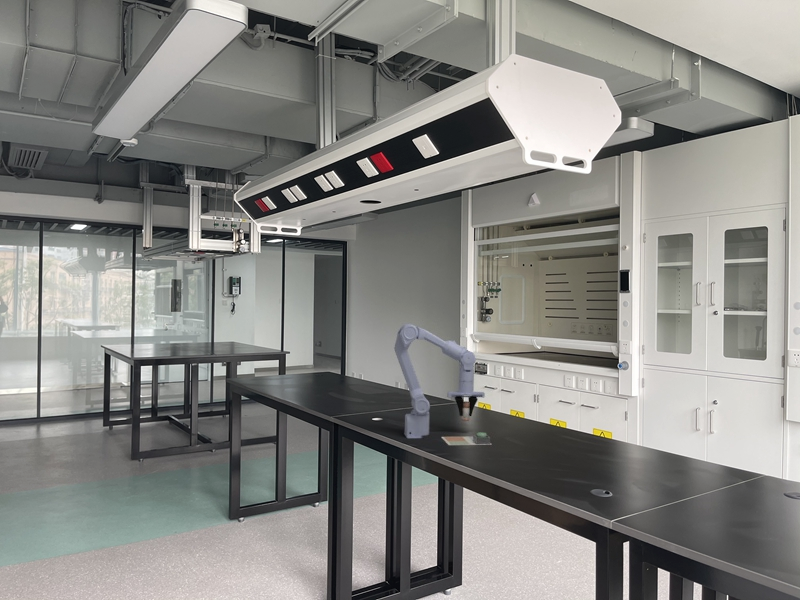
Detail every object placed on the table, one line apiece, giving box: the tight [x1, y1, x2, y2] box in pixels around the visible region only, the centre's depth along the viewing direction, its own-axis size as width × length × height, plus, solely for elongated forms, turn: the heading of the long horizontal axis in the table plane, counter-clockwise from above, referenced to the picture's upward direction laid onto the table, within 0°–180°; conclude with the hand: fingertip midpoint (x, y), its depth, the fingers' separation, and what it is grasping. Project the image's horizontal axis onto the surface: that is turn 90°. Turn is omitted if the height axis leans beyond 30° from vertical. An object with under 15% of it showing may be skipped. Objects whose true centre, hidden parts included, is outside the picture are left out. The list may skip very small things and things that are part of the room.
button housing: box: [472, 434, 491, 444], centre depth 210 cm, size 5×5×2 cm
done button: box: [476, 431, 487, 437], centre depth 210 cm, size 3×3×2 cm
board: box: [441, 436, 493, 446], centre depth 213 cm, size 16×13×1 cm
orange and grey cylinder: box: [461, 400, 470, 422], centre depth 225 cm, size 3×3×7 cm
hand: (465, 415), depth 225 cm, fingers closed on orange and grey cylinder, 3 cm apart
